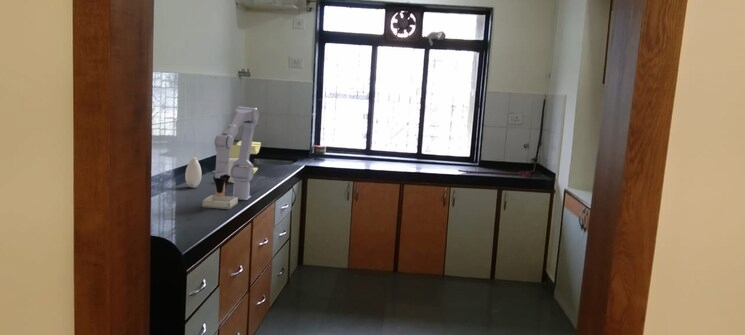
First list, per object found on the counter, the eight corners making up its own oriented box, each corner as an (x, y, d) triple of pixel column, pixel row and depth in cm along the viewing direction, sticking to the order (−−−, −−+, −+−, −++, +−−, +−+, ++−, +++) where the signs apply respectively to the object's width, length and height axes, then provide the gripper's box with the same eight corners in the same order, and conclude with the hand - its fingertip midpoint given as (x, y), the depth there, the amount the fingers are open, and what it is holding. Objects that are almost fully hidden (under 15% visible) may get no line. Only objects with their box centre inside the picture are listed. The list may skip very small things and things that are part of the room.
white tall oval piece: (196, 189, 288) (197, 154, 286) (181, 187, 290) (183, 152, 288) (203, 187, 296) (205, 153, 294) (189, 185, 297) (191, 151, 295)
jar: (217, 194, 257) (218, 180, 257) (226, 195, 257) (226, 181, 256) (214, 196, 254) (214, 181, 253) (222, 197, 253) (223, 182, 252)
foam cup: (222, 181, 321) (223, 158, 319) (237, 180, 327) (238, 157, 325) (231, 183, 314) (232, 160, 312) (245, 183, 320) (247, 160, 319)
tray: (211, 201, 263) (212, 194, 262) (237, 203, 263) (238, 197, 262) (202, 207, 249) (202, 200, 249) (229, 209, 249) (229, 202, 248)
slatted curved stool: (235, 167, 380) (236, 140, 378) (259, 168, 382) (260, 142, 380) (227, 173, 351) (228, 144, 348) (253, 175, 352) (255, 146, 350)
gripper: (218, 159, 261) (216, 188, 262) (208, 162, 246) (207, 193, 248) (233, 160, 261) (232, 189, 262) (225, 164, 246) (223, 195, 248)
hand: (221, 191), depth 255 cm, fingers closed on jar, 4 cm apart
